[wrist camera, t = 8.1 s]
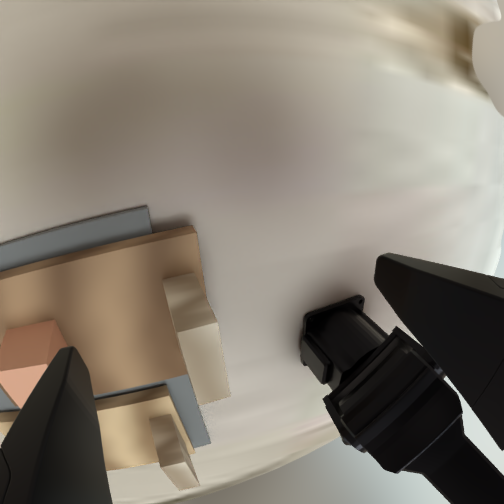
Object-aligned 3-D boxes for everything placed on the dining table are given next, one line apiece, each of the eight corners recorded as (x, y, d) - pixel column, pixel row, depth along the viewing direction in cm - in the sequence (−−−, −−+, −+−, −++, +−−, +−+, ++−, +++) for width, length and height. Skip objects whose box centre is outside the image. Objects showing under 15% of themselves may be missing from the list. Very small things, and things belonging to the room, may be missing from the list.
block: (54, 319, 16) (46, 364, 13) (77, 364, 18) (76, 408, 15) (6, 329, 15) (-8, 372, 12) (31, 372, 17) (25, 415, 14)
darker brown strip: (192, 225, 19) (222, 274, 14) (214, 355, 24) (241, 414, 19) (-50, 286, 13) (-84, 343, 8) (17, 395, 18) (10, 455, 13)
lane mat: (147, 206, 18) (147, 208, 17) (209, 439, 30) (211, 443, 30) (-86, 274, 12) (-89, 277, 11) (55, 467, 24) (55, 470, 24)
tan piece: (166, 385, 23) (183, 446, 18) (192, 444, 29) (209, 491, 23) (-6, 413, 18) (-13, 467, 13) (49, 467, 23) (52, 512, 18)
